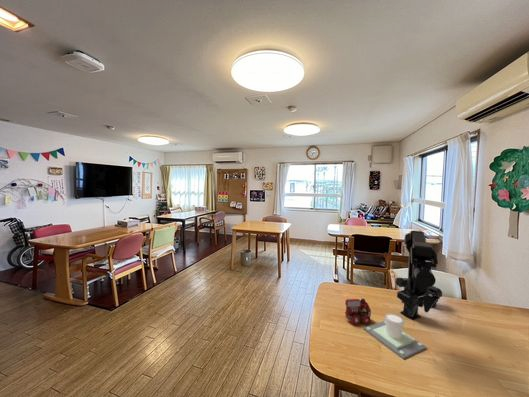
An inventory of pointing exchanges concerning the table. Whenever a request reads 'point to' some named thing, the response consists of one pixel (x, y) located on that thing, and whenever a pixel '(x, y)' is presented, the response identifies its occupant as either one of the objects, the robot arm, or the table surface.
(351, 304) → the toy fire truck
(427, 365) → the table surface
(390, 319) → the shot glass
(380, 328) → the baseplate
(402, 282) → the robot arm
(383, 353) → the table surface
